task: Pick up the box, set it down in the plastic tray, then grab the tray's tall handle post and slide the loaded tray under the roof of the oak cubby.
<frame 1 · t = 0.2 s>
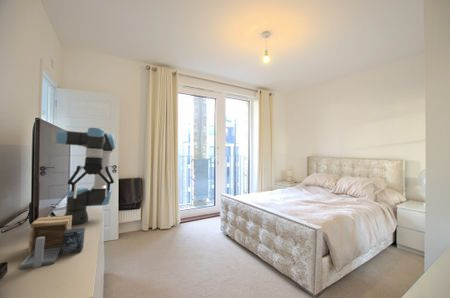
hand: (90, 197, 103), 27 cm above the dresser, fingers open, 13 cm apart
tray: (43, 246, 90), point 6 cm above the dresser, slide at 0.0 cm
cubby: (50, 247, 101), on the dresser
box: (72, 251, 99), on the dresser
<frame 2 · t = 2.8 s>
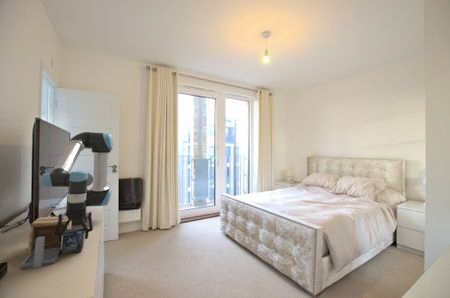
hand: (73, 246, 99), 2 cm above the dresser, fingers closed on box, 8 cm apart
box: (72, 251, 99), on the dresser, touching gripper
everything else where it was.
when the fingers open (5 cm above the dresser, at t = 7.8 s): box drops 2 cm, resting on tray.
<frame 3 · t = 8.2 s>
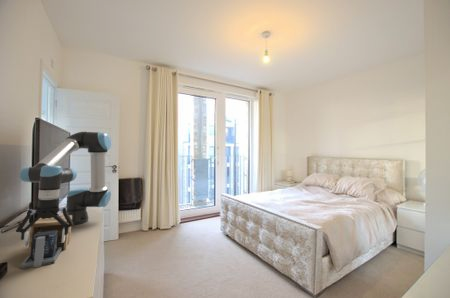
hand: (45, 244, 92), 6 cm above the dresser, fingers open, 13 cm apart
tray: (43, 245, 91), point 6 cm above the dresser, slide at 0.4 cm, touching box
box: (43, 256, 92), point 1 cm above the dresser, touching tray
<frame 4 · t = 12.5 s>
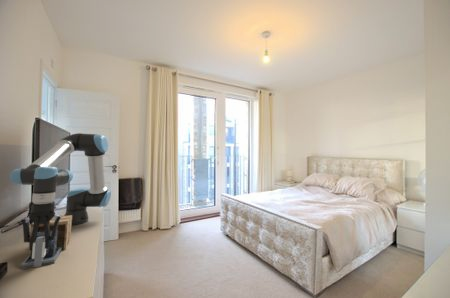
hand: (38, 256, 85), 4 cm above the dresser, fingers closed on tray, 2 cm apart
tray: (43, 245, 91), point 6 cm above the dresser, slide at 0.4 cm, touching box, gripper
everything else where it was.
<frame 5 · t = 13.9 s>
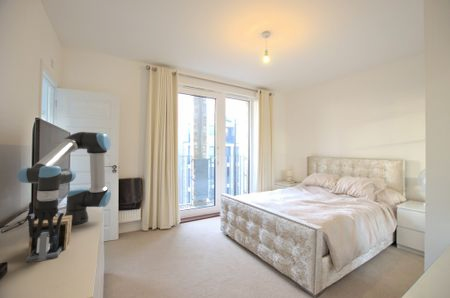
hand: (43, 250, 90), 4 cm above the dresser, fingers closed on tray, 2 cm apart
tray: (47, 241, 95), point 6 cm above the dresser, slide at 6.0 cm, touching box, gripper
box: (47, 251, 97), point 1 cm above the dresser, touching tray
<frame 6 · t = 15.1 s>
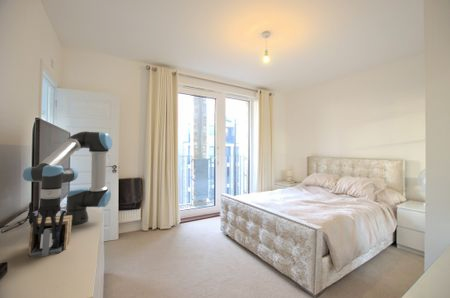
hand: (46, 246, 94), 4 cm above the dresser, fingers closed on tray, 2 cm apart
tray: (50, 237, 100), point 6 cm above the dresser, slide at 10.6 cm, touching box, gripper
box: (50, 247, 101), point 1 cm above the dresser, touching tray
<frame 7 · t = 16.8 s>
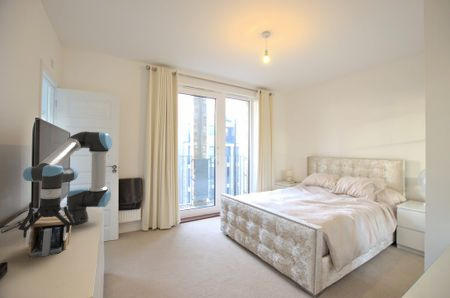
hand: (46, 241, 94), 6 cm above the dresser, fingers open, 13 cm apart
tray: (50, 237, 100), point 6 cm above the dresser, slide at 10.6 cm, touching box
everything else where it was.
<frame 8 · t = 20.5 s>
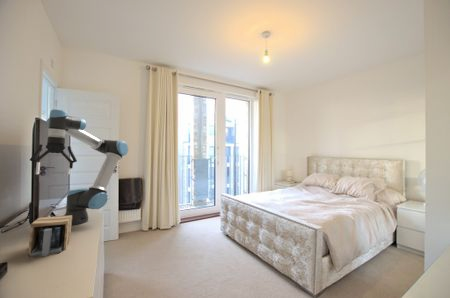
hand: (53, 174, 111), 37 cm above the dresser, fingers open, 13 cm apart
nothing on the dresser moved.
at the end: tray slide at 10.6 cm; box inside the target area on the tray (0.2 cm from its centre), point 0.6 cm above the tray's base; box tilted 0° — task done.
